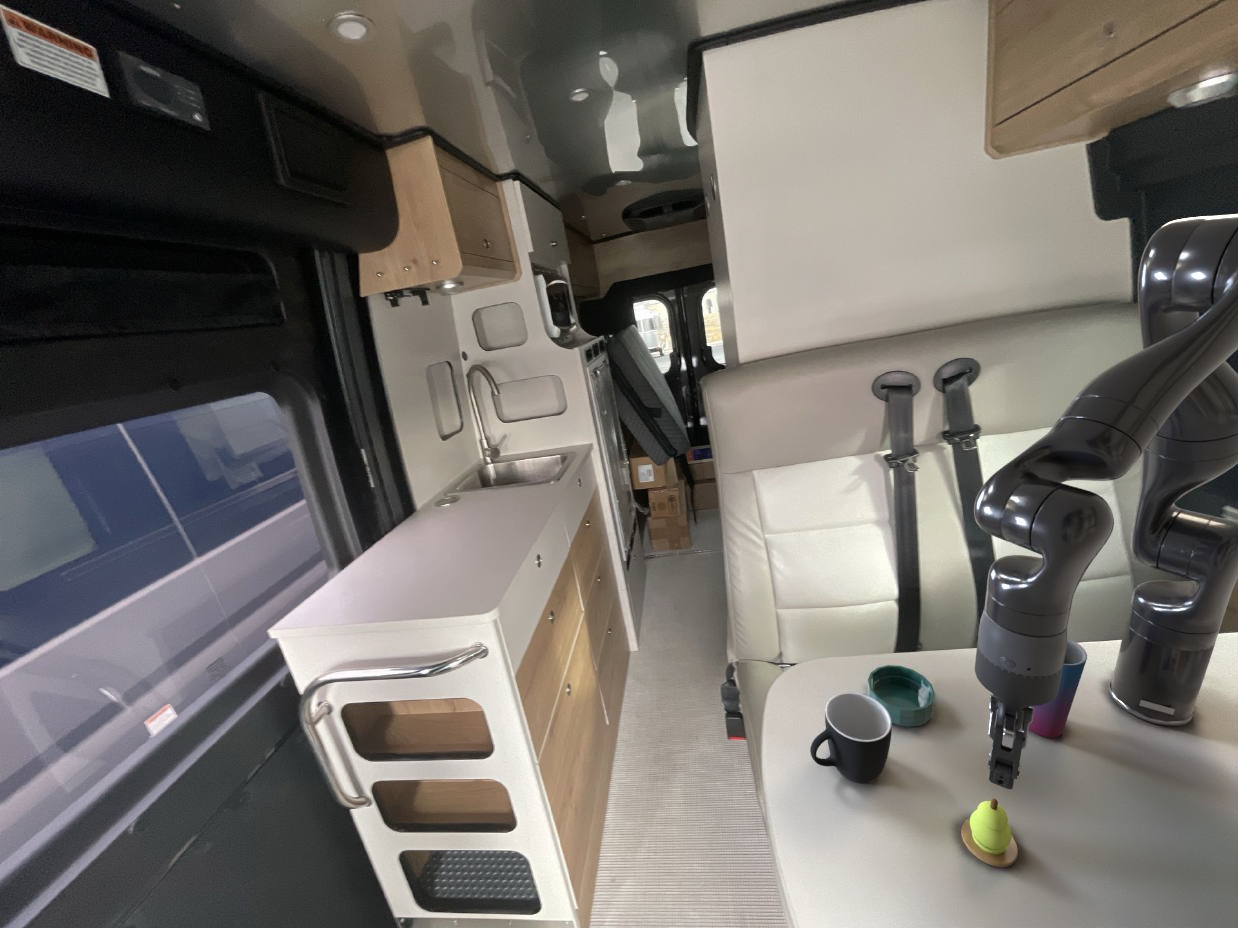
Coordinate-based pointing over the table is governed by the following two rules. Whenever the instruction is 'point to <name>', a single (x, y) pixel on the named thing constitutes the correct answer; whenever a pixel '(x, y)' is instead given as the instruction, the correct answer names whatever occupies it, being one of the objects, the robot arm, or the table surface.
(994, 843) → the pear
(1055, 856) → the table surface
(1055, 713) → the cup
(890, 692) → the bowl
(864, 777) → the mug
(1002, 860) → the coaster
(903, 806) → the table surface
